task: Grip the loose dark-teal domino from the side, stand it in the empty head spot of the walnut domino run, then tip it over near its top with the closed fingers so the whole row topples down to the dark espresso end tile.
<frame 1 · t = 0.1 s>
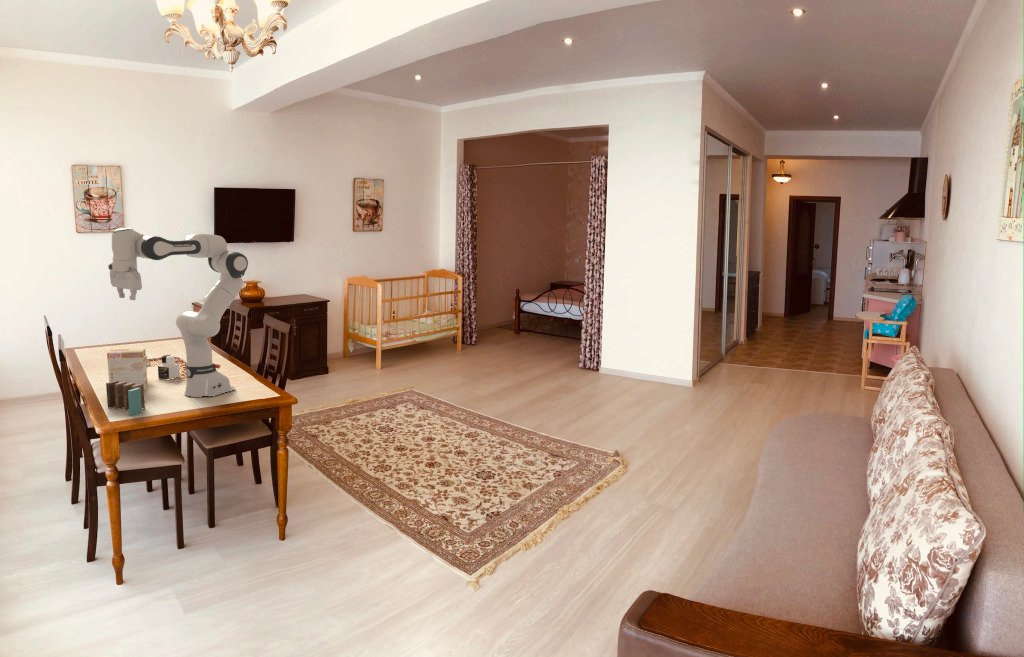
hand: (127, 298, 286), 48 cm above the table, tool pointing down, fingers open, 8 cm apart
coffeecake box: (129, 390, 321), on the table
walnut domino 4: (122, 407, 293), on the table
end domino: (113, 406, 295), on the table
walnut domino 2: (138, 409, 291), on the table
medicine bottle: (169, 378, 345), on the table
character mug: (140, 382, 336), on the table
walnut domino 3: (130, 408, 292), on the table
teal domino: (135, 414, 284), on the table
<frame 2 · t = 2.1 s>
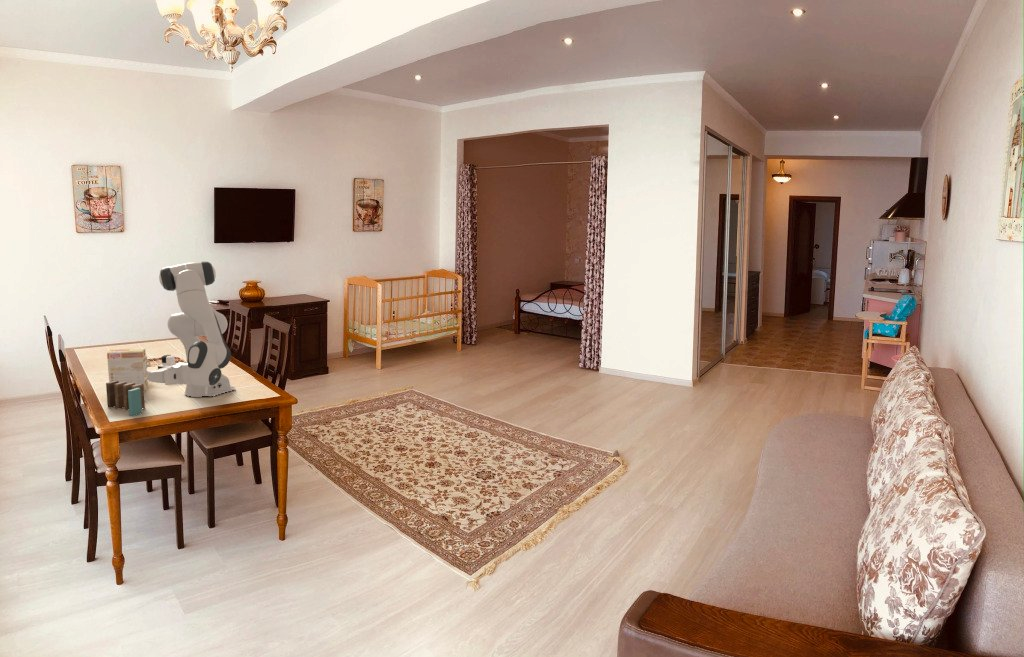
hand: (155, 370, 277), 20 cm above the table, tool horizontal, fingers open, 8 cm apart
nothing on the table moved.
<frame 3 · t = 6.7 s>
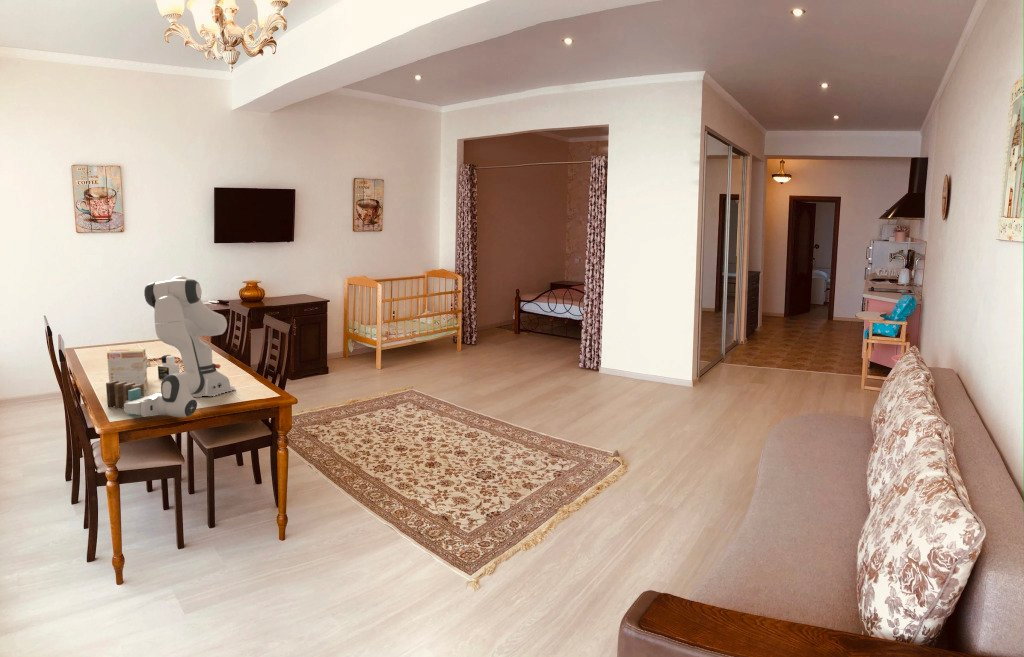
hand: (133, 400, 283), 6 cm above the table, tool horizontal, fingers closed on teal domino, 5 cm apart
teal domino: (135, 414, 284), on the table, touching gripper
everything else where it was.
when the fingers open (7 cm above the table, at t = 11.5 s): teal domino drops 1 cm, on the table.
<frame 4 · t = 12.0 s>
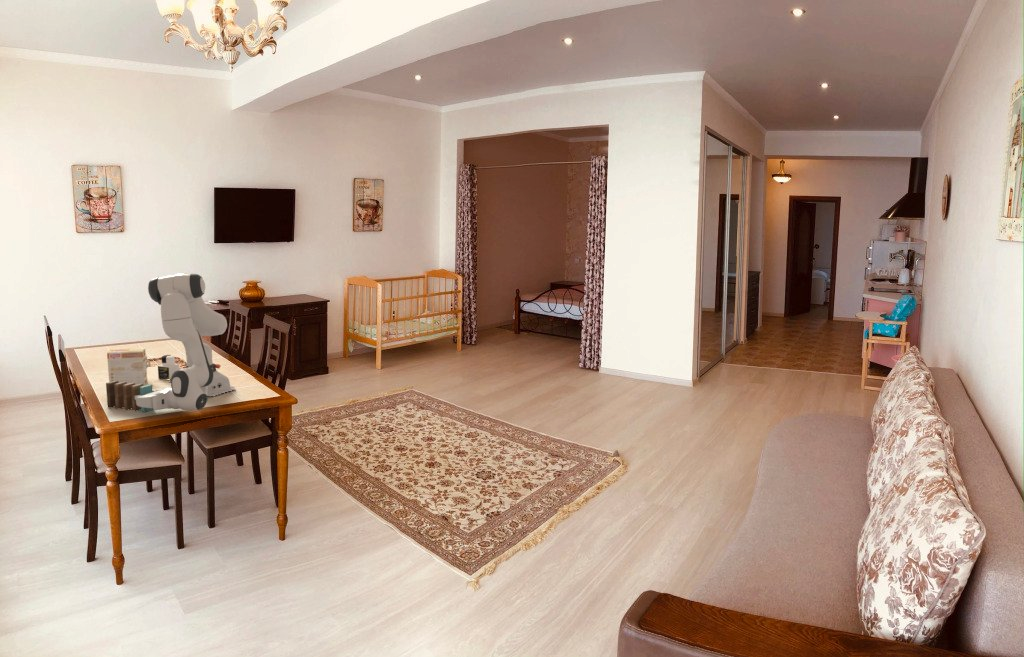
hand: (144, 394, 289), 7 cm above the table, tool horizontal, fingers open, 8 cm apart
teal domino: (147, 410, 290), on the table
everything else where it was.
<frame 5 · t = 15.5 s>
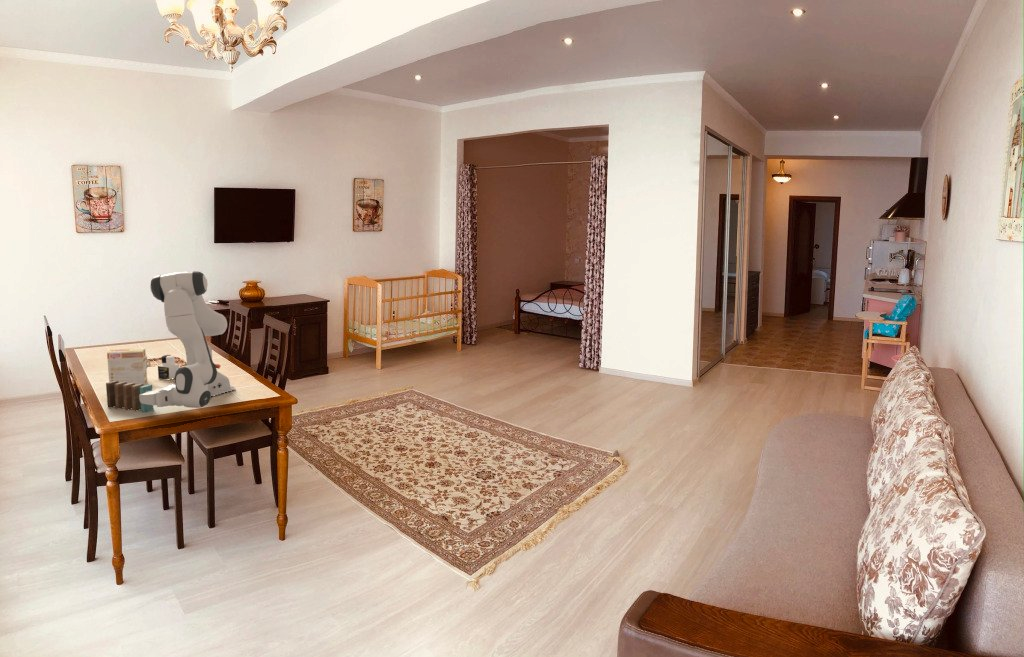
hand: (147, 391, 288), 8 cm above the table, tool horizontal, fingers closed, pressing on teal domino
teal domino: (147, 410, 290), on the table, touching gripper
everything else where it was.
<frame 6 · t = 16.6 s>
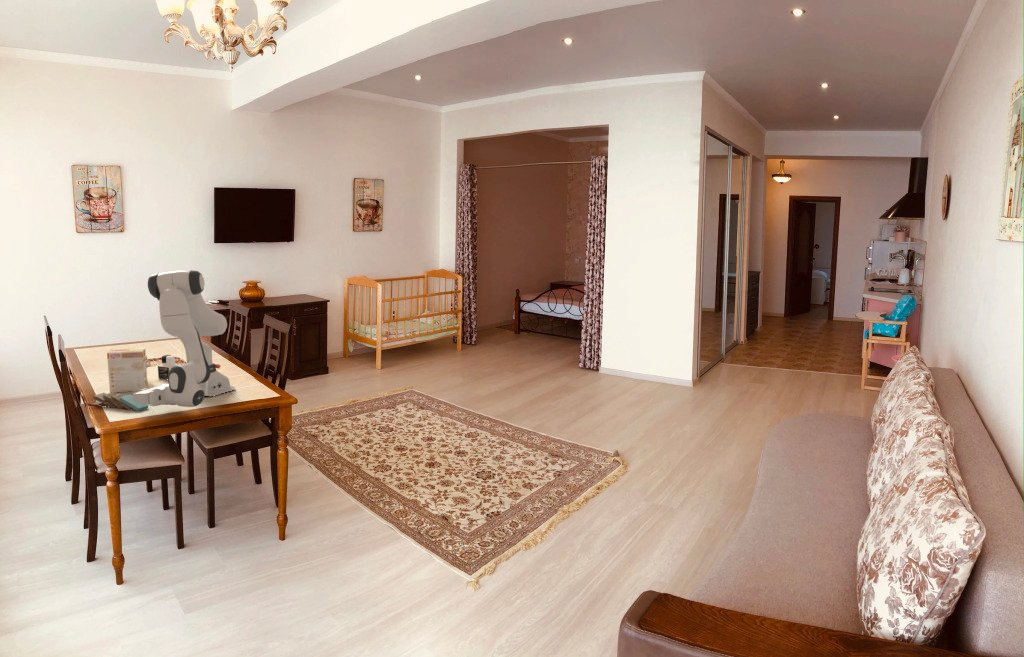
hand: (141, 390, 289), 9 cm above the table, tool horizontal, fingers closed
walnut domino 4: (117, 404, 294), point 1 cm above the table, tilted 74°, touching end domino, walnut domino 3
end domino: (112, 405, 295), on the table, tilted 90°, touching walnut domino 4
walnut domino 2: (134, 407, 291), point 1 cm above the table, tilted 70°, touching teal domino, walnut domino 3
walnut domino 3: (126, 406, 293), point 1 cm above the table, tilted 70°, touching walnut domino 2, walnut domino 4
teal domino: (143, 408, 290), point 1 cm above the table, tilted 70°, touching walnut domino 2
everything else where it was.
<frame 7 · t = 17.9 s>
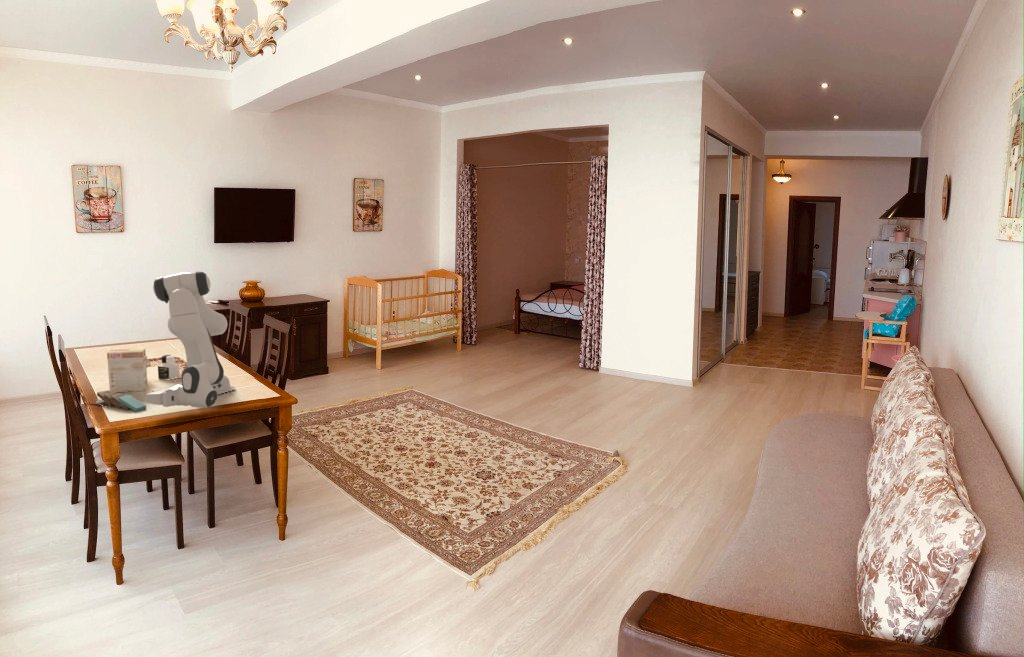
hand: (154, 391, 287), 9 cm above the table, tool horizontal, fingers closed
walnut domino 4: (116, 403, 295), point 1 cm above the table, tilted 73°
end domino: (111, 405, 296), on the table, tilted 90°
walnut domino 2: (132, 407, 291), point 1 cm above the table, tilted 71°, touching walnut domino 3
walnut domino 3: (125, 405, 293), point 1 cm above the table, tilted 71°, touching walnut domino 2
teal domino: (141, 408, 290), point 1 cm above the table, tilted 71°
everything else where it was.
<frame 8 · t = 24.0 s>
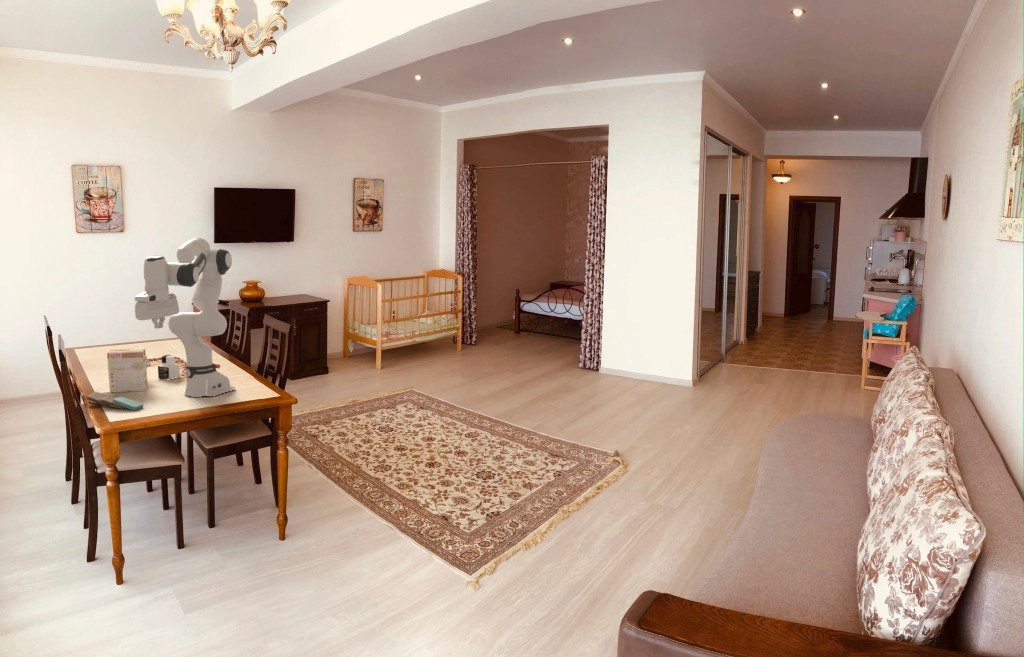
hand: (158, 328, 281), 37 cm above the table, tool pointing down, fingers closed
walnut domino 4: (105, 399, 299), point 2 cm above the table, tilted 91°, touching end domino, walnut domino 3
end domino: (112, 404, 297), on the table, tilted 90°, touching walnut domino 4
walnut domino 2: (127, 406, 292), point 1 cm above the table, tilted 76°, touching teal domino
walnut domino 3: (112, 402, 295), point 1 cm above the table, tilted 76°, touching walnut domino 4
teal domino: (139, 407, 291), point 1 cm above the table, tilted 76°, touching walnut domino 2
everything else where it was.
at the end: end domino tilted 90°; teal domino inside the target area (2.5 cm from its centre), point 0.8 cm above the table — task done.
